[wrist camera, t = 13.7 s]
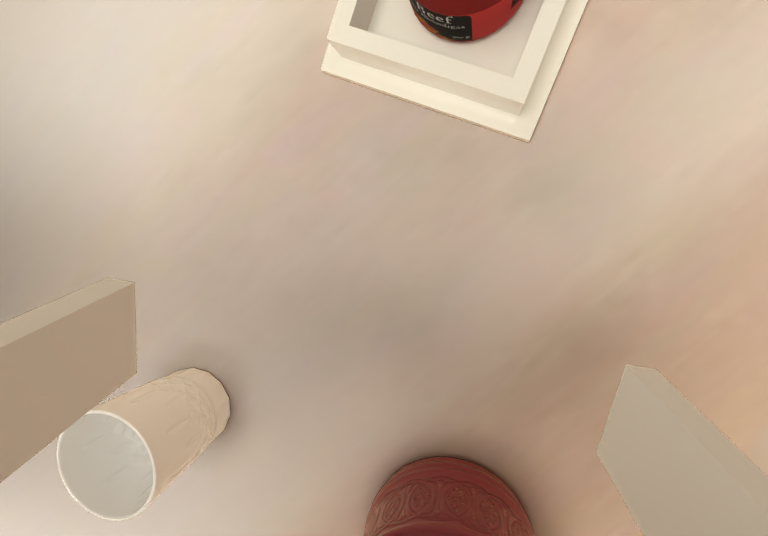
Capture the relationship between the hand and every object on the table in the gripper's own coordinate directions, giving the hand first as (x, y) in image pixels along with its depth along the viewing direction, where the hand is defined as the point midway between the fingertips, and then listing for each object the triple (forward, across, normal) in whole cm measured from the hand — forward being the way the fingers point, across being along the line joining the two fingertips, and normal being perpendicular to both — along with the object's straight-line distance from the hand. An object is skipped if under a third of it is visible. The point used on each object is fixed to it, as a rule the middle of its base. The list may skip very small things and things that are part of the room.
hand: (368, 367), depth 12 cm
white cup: (+22, -16, -19) cm, 33 cm away
